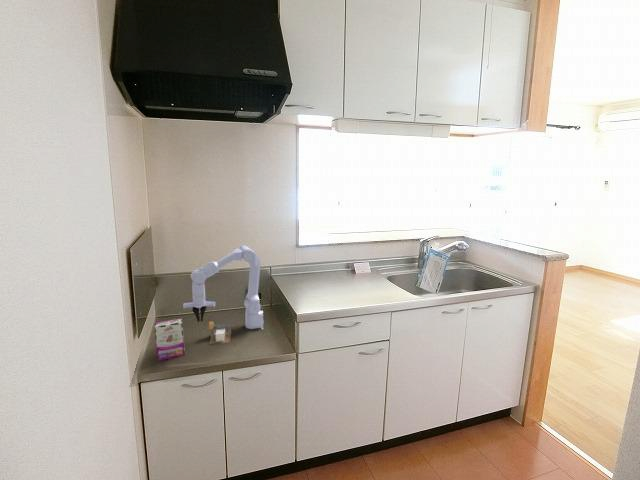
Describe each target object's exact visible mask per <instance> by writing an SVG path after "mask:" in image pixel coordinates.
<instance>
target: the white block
mask: <svg viewBox="0 0 640 480" xmlns="http://www.w3.org/2000/svg"><path fill="white" fill-rule="evenodd" d="M215 332H216V342H220V341H225V334H226V332H227V331H226V328H219V329H215Z"/></svg>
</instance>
